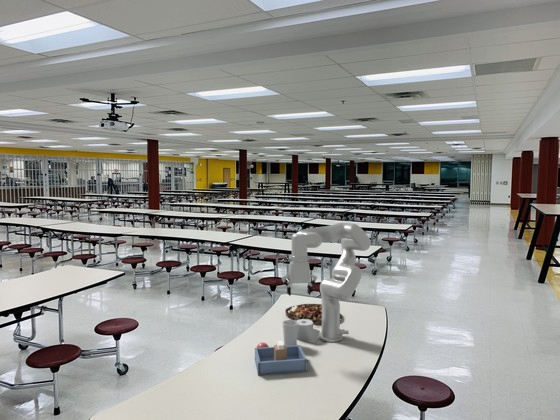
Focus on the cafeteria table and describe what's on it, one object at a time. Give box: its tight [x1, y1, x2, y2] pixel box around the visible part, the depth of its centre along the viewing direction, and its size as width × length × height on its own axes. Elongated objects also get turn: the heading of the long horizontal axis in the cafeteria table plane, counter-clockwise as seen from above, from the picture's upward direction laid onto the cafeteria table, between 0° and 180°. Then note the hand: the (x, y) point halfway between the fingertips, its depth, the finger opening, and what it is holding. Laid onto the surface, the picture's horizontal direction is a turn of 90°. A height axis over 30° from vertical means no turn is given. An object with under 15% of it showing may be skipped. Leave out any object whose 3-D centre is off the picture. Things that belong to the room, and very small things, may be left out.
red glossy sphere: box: [256, 342, 269, 348], centre depth 185 cm, size 6×6×6 cm
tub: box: [254, 344, 308, 377], centre depth 175 cm, size 21×15×6 cm
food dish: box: [284, 303, 343, 326], centre depth 239 cm, size 35×33×8 cm
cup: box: [282, 319, 298, 346], centre depth 196 cm, size 8×8×12 cm
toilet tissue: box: [297, 319, 321, 343], centre depth 206 cm, size 9×13×9 cm
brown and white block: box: [273, 340, 287, 361], centre depth 175 cm, size 5×5×9 cm
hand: (299, 294), depth 188 cm, fingers open, 9 cm apart
